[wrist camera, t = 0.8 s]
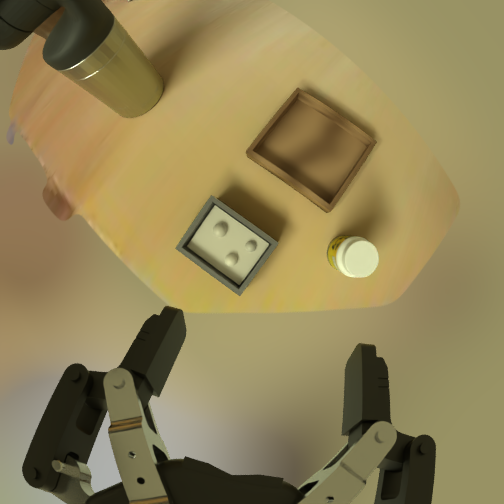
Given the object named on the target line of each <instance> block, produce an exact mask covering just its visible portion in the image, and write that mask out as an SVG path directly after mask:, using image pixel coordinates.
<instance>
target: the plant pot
mask: <svg viewBox="0 0 504 504" xmlns="http://www.w3.org/2000/svg"><path fill="white" fill-rule="evenodd" d="M64 10H65V7H60V8H59V9H58V10H57V11H55V12H54V13H53V14H52V15H51V16H50V17H49V18H47V19H46V20H45V21H44V22H43V23H42V24H41V25H40V26H39V27H38V28H37V29H35V30H34V31H33V32H34V33H36V34H37V35H39V36H41V37H43V38H45V39H46V40H47V38H48V36H49V34H50V33H51V31H52V30H53V28H54V27H55V25H56V24H57V22H58V21H59V19H60V18H61V16H62V14H63V12H64Z"/></svg>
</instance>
